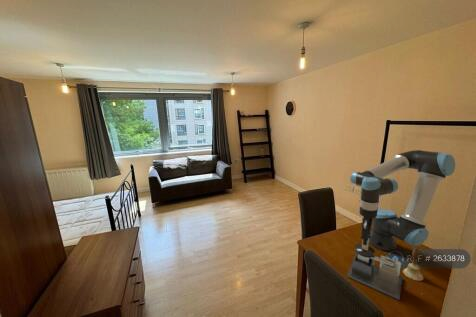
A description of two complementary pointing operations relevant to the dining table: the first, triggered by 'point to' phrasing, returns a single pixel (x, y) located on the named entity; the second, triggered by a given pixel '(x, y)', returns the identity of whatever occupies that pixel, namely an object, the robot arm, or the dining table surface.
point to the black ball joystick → (369, 255)
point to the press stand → (378, 276)
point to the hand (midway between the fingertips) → (364, 248)
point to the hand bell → (414, 267)
